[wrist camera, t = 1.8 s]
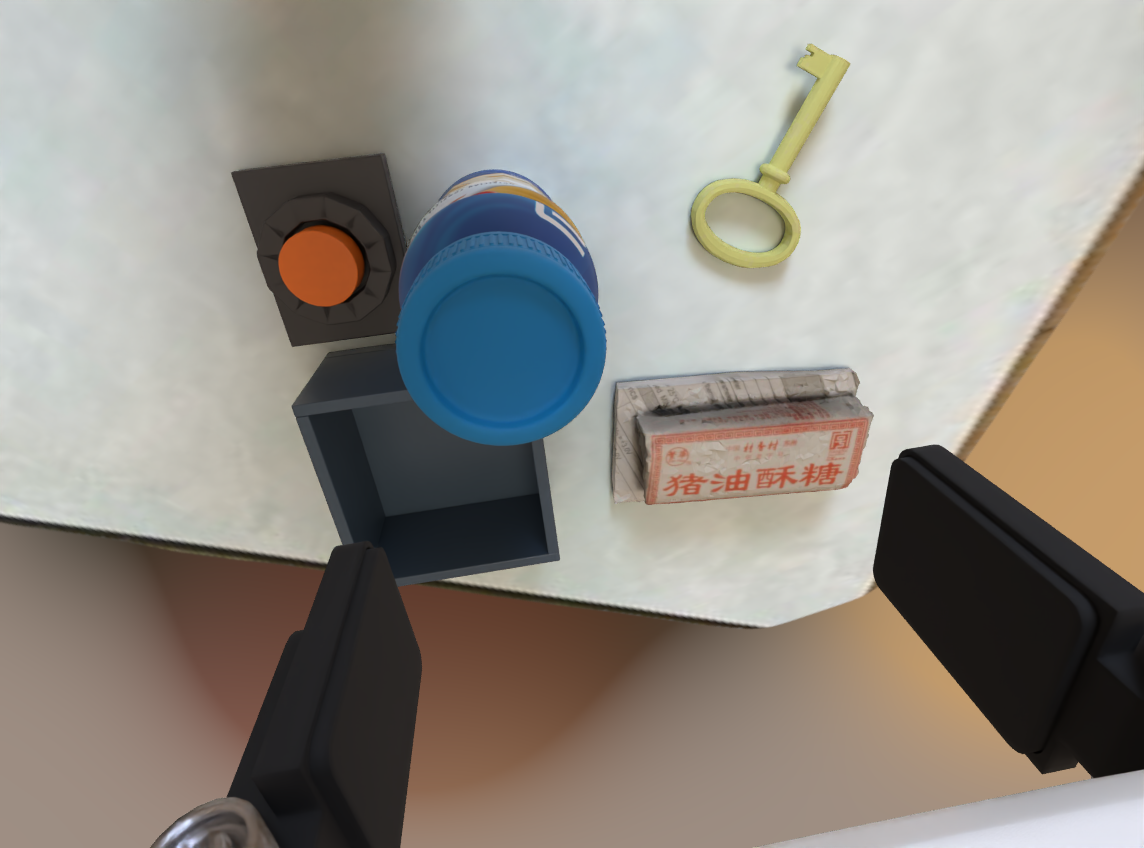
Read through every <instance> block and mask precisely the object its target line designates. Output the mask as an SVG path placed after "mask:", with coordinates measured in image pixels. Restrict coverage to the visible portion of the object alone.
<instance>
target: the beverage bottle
mask: <svg viewBox="0 0 1144 848" xmlns="http://www.w3.org/2000/svg"><path fill="white" fill-rule="evenodd" d="M399 303H400V309H401V312H400V314H399V316H398V318H399V320H398V322H397V326H398V329H397V331H396V333H395V335H396V336H397V338H396V341H395V343H396V353H397V361H398V366H399V370H400V373H401V376H402V379H403V382H404V384H405V386H406V388H407V390H408V392H409V394H410V396H411V397H412V399H413V400H414V402H415V403H416V404H417V406H418V407H419V408H420V409H421V410H422V411H423V412H424V413H425V415H427V416H428V417H429V418H430V419H431V420H432V421H433V422H435V423H436V424H437V425H439V426H440V427H441V428H443V429H445V430H446V431H448V432H450V433H452V434H454V435H456V436H458V437H460V438H463V439H466V440H469V441H472V442H476V443H480V444H486V445H495V446H509V445H519V444H524V443H529V442H532V441H536V440H539V439H541V438H544V437H546V436H549V435H551V434H553V433H554V432H556V431H558V430H560V429H561V428H563V427H564V426H566V425H567V424H568V423H569V422H571V421H572V420H573V419H574V418H575V417H576V416H577V415H578V414H579V413H580V412H581V411H582V410H583V409H584V408H585V406H586V405H587V404H588V402H589V401H590V399H591V398H592V396H593V395H594V393H595V391H596V389H597V387H598V384H599V382H600V379H601V376H602V373H603V369H604V364H605V358H606V342H607V340H606V337H605V333H606V330H605V328H604V325H605V323H604V321H603V320H602V318H601V317H602V313H601V311H600V310H599V309H600V307H599V305H598V282H597V276H596V271H595V267H594V264H593V261H592V258H591V256H590V254H589V251H588V249H587V247H586V246H585V244H584V241H583V239H582V237H581V235H580V233H579V231H578V230H577V228H576V226H575V225H574V223H573V222H572V221H571V219H570V218H569V217H568V216H567V215H566V213H565V212H564V211H563V210H562V209H561V208H560V207H558V206H557V205H556V204H555V203H554V202H552V200H551V199H550V197H549V196H548V195H547V194H546V193H545V192H544V191H543V190H542V189H541V188H540V187H539V186H538V185H537V184H535V183H534V182H533V181H531V180H529V179H528V178H526V177H524V176H522V175H519V174H517V173H514V172H510V171H505V170H483V171H478V172H475V173H472V174H469V175H467V176H465V177H463V178H461V179H459V180H458V181H457V182H455V183H454V184H453V185H451V186H450V187H449V188H448V189H447V190H446V191H445V193H444V194H443V195H442V196H441V198H440V199H439V201H438V202H437V204H435V205H434V206H433V207H432V208H431V209H430V210H429V211H428V212H427V214H426V215H425V216H424V217H423V218H422V220H421V221H420V223H419V224H418V226H417V228H416V229H415V231H414V233H413V236H412V238H411V240H410V243H409V246H408V249H407V251H406V253H405V256H404V259H403V262H402V266H401V270H400V276H399Z"/></svg>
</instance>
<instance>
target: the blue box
mask: <svg viewBox="0 0 1144 848" xmlns="http://www.w3.org/2000/svg"><path fill="white" fill-rule="evenodd" d="M292 409H293V412H294V415H295V417H296V420H297V423H298V425H299V428H300V431H301V434H302V436H303V439H304V442H305V444H306V447H307V450H308V452H309V455H310V458H311V461H312V463H313V466H314V469H315V471H316V474H317V477H318V479H319V482H320V485H321V488H322V490H323V493H324V496H325V498H326V501H327V504H328V506H329V509H330V512H331V515H332V517H333V520H334V523H335V525H336V528H337V531H338V533H339V536H340V539H341V542H342V544H343V545H346V544H352V543H358V542H364V541H370V542H371V543H372V545H373V547H374V548H378V547H382V548H383V549H384V551H385V553H386V556H387V558H388V561H389V564H390V567H391V570H392V573H393V576H394V578H395V581H396V584H397V587H399V586H405V585H411V584H417V583H424V582H430V581H436V580H442V579H448V578H454V577H460V576H467V575H473V574H479V573H485V572H491V571H497V570H504V569H510V568H516V567H522V566H528V565H534V564H540V563H547V562H553V561H559V560H560V555H559V548H558V541H557V534H556V527H555V520H554V513H553V506H552V499H551V492H550V485H549V478H548V471H547V464H546V457H545V450H544V443H543V438H541V439H539V440H536V441H532V442H529V443H524V444H519V445H509V446H495V445H486V444H480V443H476V442H472V441H469V440H466V439H463V438H460V437H458V436H456V435H454V434H452V433H450V432H448V431H446V430H445V429H443V428H441V427H440V426H439V425H437V424H436V423H435V422H433V421H432V420H431V419H430V418H429V417H428V416H427V415H425V413H424V412H423V411H422V410H421V409H420V408H419V407H418V406H417V404H416V403H415V402H414V400H413V399H412V397H411V396H410V394H409V392H408V390H407V388H406V386H405V384H404V382H403V379H402V376H401V373H400V370H399V366H398V361H397V353H396V344H389V345H382V346H374V347H367V348H360V349H352V350H345V351H338V352H330V353H328V354H327V355H326V357H325V359H324V360H323V361H322V363H321V364H320V366H319V367H318V369H317V370H316V372H315V373H314V374H313V376H312V377H311V379H310V380H309V382H308V383H307V385H306V386H305V387H304V389H303V390H302V392H301V393H300V395H299V396H298V397H297V399H296V400H295V402H294V403H293V405H292Z"/></svg>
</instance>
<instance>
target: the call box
mask: <svg viewBox="0 0 1144 848" xmlns="http://www.w3.org/2000/svg"><path fill="white" fill-rule="evenodd" d="M231 174H232V177H233V180H234V183H235V186H236V188H237V191H238V194H239V197H240V200H241V203H242V205H243V208H244V211H245V214H246V217H247V220H248V223H249V225H250V228H251V231H252V234H253V237H254V240H255V243H256V245H257V248H258V250H257V257H258V260H259V263H260V266H261V269H262V272H263V274H264V277H265V280H266V283H267V286H268V288H269V289H270V290H271V291H272V292H273V294H274V297H275V300H276V302H277V305H278V308H279V311H280V314H281V317H282V320H283V322H284V325H285V328H286V331H287V334H288V337H289V340H290V342H291V345H292V347H295V346H302V345H310V344H317V343H325V342H332V341H339V340H347V339H354V338H361V337H369V336H376V335H383V334H391V333H396V331H397V329H398V326H397V322H398V320H399V318H398V316H399V314H400V312H401V309H400V303H399V276H400V270H401V266H402V262H403V259H404V256H405V253H406V251H407V248H406V243H405V239H404V235H403V230H402V226H401V222H400V217H399V213H398V209H397V204H396V200H395V196H394V191H393V187H392V183H391V178H390V174H389V170H388V165H387V161H386V157H385V154H374V155H366V156H357V157H348V158H340V159H331V160H323V161H314V162H306V163H297V164H288V165H280V166H271V167H263V168H254V169H245V170H239V171H234V172H231ZM315 225H327V226H332V227H335V228H337V229H339V230H341V231H343V232H345V233H346V234H347V235H349V236H350V237H351V238H352V239H353V240H354V241H355V242H356V244H357V245H358V247H359V248H360V250H361V252H362V255H363V258H364V264H365V270H364V276H363V279H362V281H361V283H360V285H359V286H358V287H357V288H356V290H355V291H354V292H353V293H352V295H351V296H350V297H349V298H348V299H347V300H345V301H344V302H342V303H340V304H338V305H334V306H328V307H322V306H315V305H312V304H309V303H306V302H304V301H302V300H301V299H299V298H298V297H296V296H295V295H294V294H293V293H292V292H291V291H290V290H289V289H288V288H287V286H286V285H285V283H284V281H283V280H282V277H281V275H280V271H279V265H278V264H279V254H280V251H281V249H282V247H283V245H284V244H285V242H286V241H287V240H288V239H289V238H290V237H292V236H293V235H295V234H297V233H298V232H300V231H302V230H304V229H305V228H308V227H310V226H315Z"/></svg>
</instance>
